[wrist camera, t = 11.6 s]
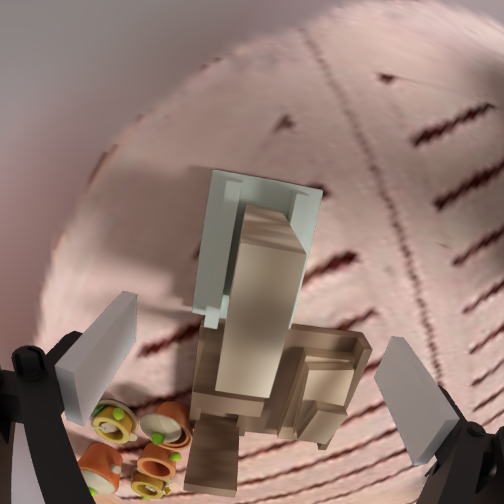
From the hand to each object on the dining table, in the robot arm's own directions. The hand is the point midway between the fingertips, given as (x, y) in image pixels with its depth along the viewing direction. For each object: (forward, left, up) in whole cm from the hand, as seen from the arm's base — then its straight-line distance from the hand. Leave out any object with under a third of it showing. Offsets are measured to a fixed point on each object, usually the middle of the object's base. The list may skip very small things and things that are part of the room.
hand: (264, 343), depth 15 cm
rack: (-5, +15, -16) cm, 23 cm away
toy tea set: (+12, +32, -17) cm, 38 cm away
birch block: (0, 0, -15) cm, 15 cm away
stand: (0, 0, -16) cm, 16 cm away
